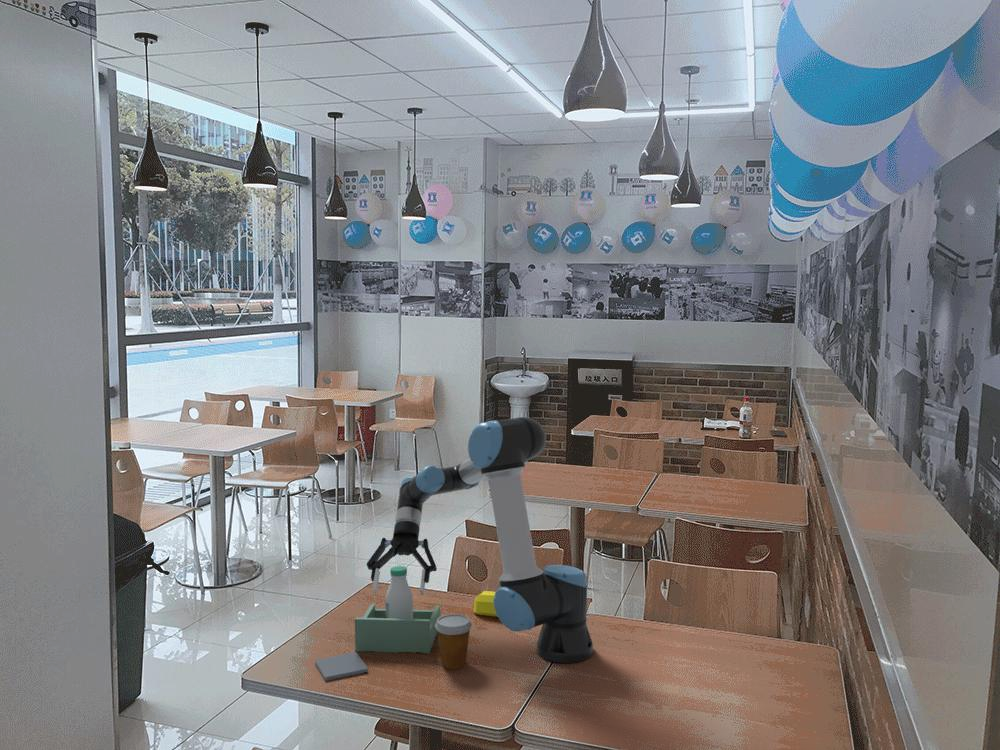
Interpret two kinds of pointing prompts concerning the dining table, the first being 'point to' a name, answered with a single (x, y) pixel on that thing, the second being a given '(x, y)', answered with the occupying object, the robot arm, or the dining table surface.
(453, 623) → the disposable coffee cup
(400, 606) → the milk bottle
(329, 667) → the slate tile
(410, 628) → the green wooden frame
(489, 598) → the yellow faceted block
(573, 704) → the dining table surface
